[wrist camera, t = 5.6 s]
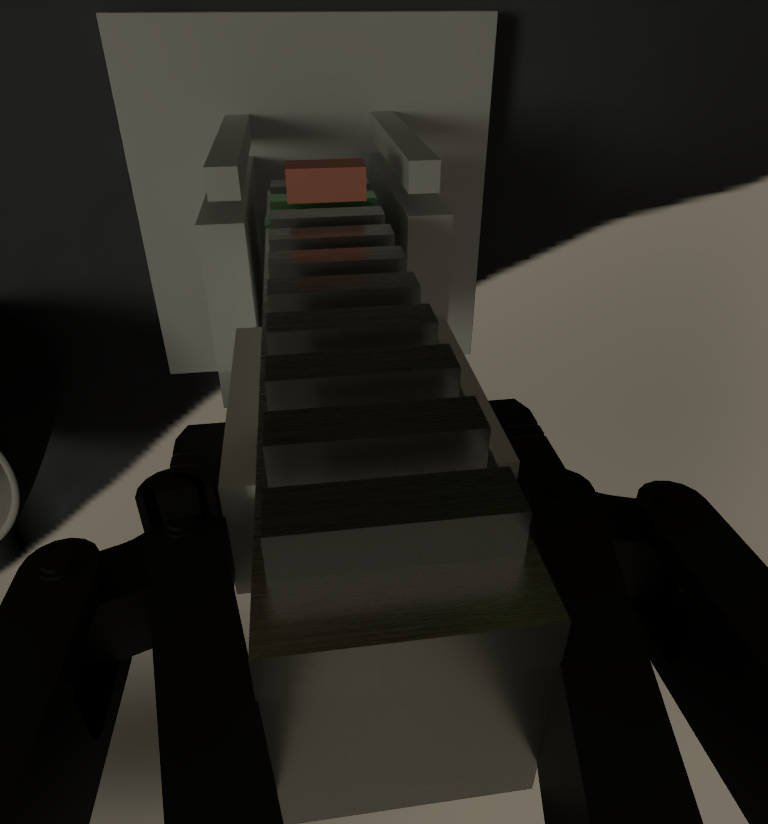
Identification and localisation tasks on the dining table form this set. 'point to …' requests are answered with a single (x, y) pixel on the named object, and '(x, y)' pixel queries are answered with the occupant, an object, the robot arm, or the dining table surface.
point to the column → (384, 541)
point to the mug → (23, 415)
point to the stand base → (297, 149)
